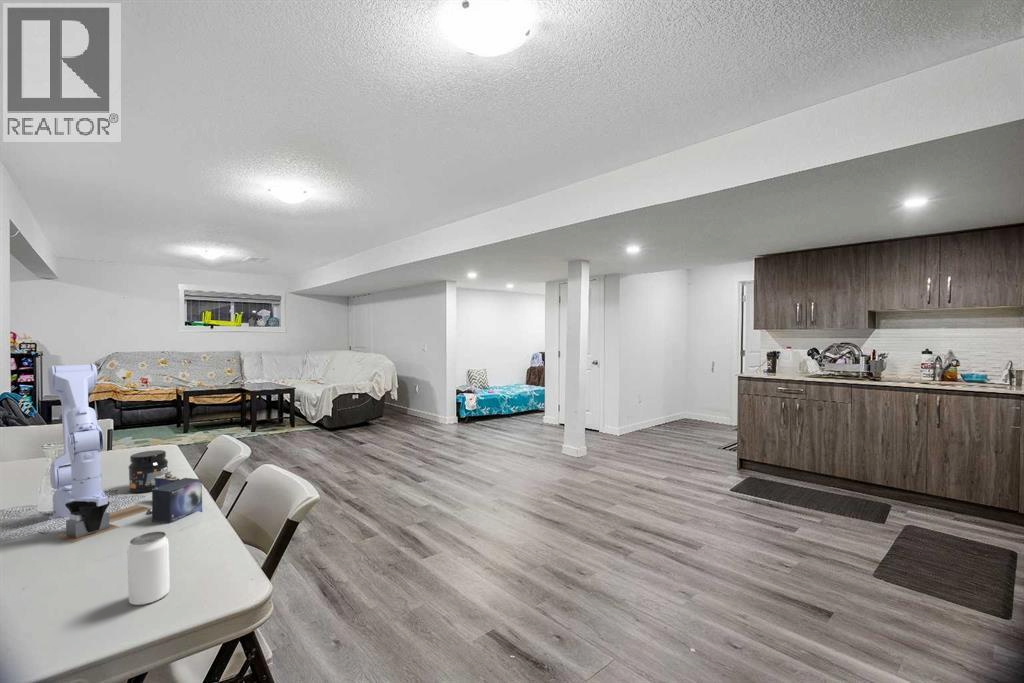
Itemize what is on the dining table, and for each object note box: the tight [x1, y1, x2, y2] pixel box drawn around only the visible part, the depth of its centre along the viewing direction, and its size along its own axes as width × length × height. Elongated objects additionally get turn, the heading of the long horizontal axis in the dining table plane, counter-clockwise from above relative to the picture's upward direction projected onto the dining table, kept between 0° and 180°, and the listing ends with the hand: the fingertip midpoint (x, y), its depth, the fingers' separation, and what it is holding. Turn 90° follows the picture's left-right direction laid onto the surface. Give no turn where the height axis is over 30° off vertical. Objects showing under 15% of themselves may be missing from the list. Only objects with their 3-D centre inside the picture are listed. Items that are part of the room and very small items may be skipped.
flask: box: [154, 470, 180, 488], centre depth 141 cm, size 9×3×11 cm, turn 71°
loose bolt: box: [145, 508, 152, 516], centre depth 131 cm, size 6×3×3 cm, turn 86°
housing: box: [65, 509, 110, 539], centre depth 119 cm, size 4×7×6 cm, turn 156°
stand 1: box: [54, 523, 120, 544], centre depth 119 cm, size 8×10×2 cm
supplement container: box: [128, 449, 169, 494], centre depth 157 cm, size 10×10×12 cm
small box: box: [151, 477, 203, 524], centre depth 130 cm, size 11×6×10 cm, turn 168°
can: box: [127, 531, 171, 606], centre depth 92 cm, size 6×6×12 cm
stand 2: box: [108, 504, 152, 523], centre depth 132 cm, size 8×10×2 cm
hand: (88, 529), depth 119 cm, fingers closed on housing, 4 cm apart
